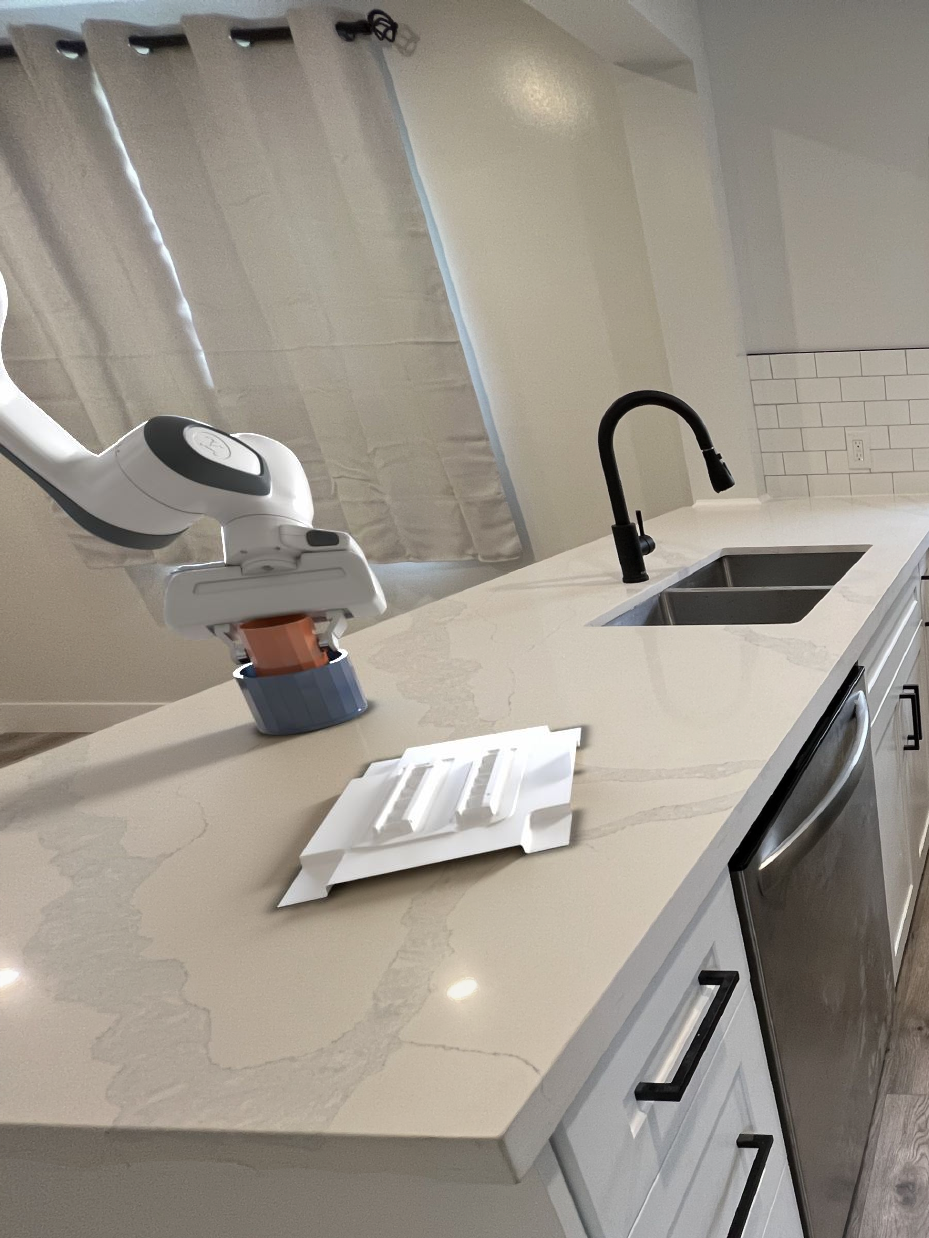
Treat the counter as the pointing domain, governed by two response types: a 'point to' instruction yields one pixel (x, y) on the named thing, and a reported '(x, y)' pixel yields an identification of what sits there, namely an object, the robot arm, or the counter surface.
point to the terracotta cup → (282, 644)
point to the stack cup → (303, 696)
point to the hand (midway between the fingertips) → (287, 655)
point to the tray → (444, 807)
